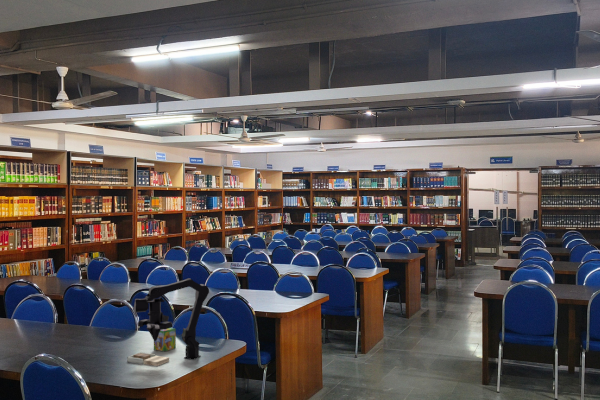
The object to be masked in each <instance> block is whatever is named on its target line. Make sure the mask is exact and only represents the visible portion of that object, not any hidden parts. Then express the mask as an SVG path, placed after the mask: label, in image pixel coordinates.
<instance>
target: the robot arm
mask: <svg viewBox="0 0 600 400" xmlns="http://www.w3.org/2000/svg"><path fill="white" fill-rule="evenodd" d="M189 287H190V288H191V289H194V290H195V293H194V294H195V299H194V300H195V301H194V304H193V308H192V311H191V315H190V318H189V321H188V324H187V326H186V328H184V327H183V328H182V333H181V339H182V342H183V343H184V344H186V346H185V352H184V353H185V356H184V357H183V358H184V359H187V360H196V359H199V358H201V355H200V347H199V346H200V343H199V342H198V340H197V339H196V336H197V335H196V334H197V333H196V332H197V331H196V329H197V324H198V321H199V318H200V315H201V311H202V308H203V304H204V302H205V301H206V299H207V298H208V295H209V294H210V288H209V287H208V286H207V285H205V284H203V283H198V282H196V281H194V280H193V279H191V278H189V277H188V278H186V279H184V280H183V279H182V280H179V281H176V282H172V283H169V284H165V285H161V284H160V285H153V286H151V287H149V289H148V293H147V295H145V297H144V298H135V299H134V305H133V311H134V313H144V312H146V313H147V311H149V312H148V313H147V316H148V317H149V318H148V319H146V318H145V319H141V320H138V323H137V326H138V327H140V328H141V327H144V326H147V327H146V330H147V331H148V332H149V334H150V336H151V339H152V340H153V342H154V341H156V340H157V338H158V335H159V332H160V330H161V329H168V328H173V323H172V321H169V318H170V317H169V315H165V314H164V312H163V311H162V309H161V308H162V307H161V305H162V303H164V302H165V301H166V300H165V299H163V298H162V297H163V296H165V295H166V294H169V293H172V292H174V291H178V290H181V289H185V288H189Z"/></svg>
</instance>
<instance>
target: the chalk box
mask: <svg viewBox="0 0 600 400" xmlns="http://www.w3.org/2000/svg"><path fill="white" fill-rule="evenodd" d="M176 331H177V329H176V328H175V327H174V328H173V327H172V328H168V329H161V330H160V332H159V335H158V338H157V340H156V341H154V340H153V350H154V351H161V352H167V351H171V350H174V349H177V348H176V346H177V345H176V343H177V342H176V340H177V339H176V336H177V334H176Z"/></svg>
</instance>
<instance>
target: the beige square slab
mask: <svg viewBox="0 0 600 400" xmlns="http://www.w3.org/2000/svg"><path fill="white" fill-rule="evenodd" d="M169 362H170V357H168V356H161V355H156V356H154V357H151V358H148V359H146V360H144V364H143V365H149V366H155V367H158V366H161V365H164V364H166V363H169Z"/></svg>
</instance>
